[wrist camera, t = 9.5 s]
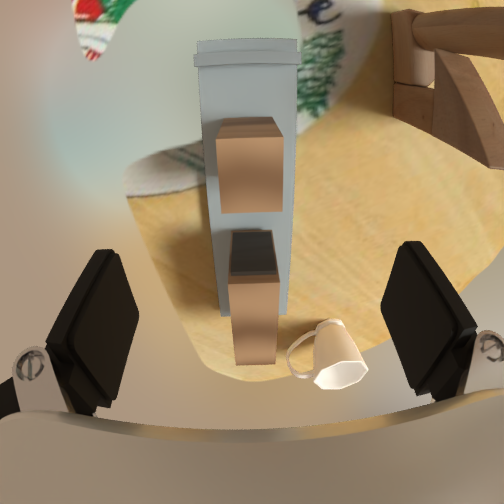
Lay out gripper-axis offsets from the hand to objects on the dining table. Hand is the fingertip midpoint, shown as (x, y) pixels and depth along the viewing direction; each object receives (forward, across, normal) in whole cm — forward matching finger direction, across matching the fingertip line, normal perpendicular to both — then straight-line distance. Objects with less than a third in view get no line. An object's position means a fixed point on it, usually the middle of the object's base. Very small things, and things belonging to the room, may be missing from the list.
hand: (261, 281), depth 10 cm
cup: (+19, -9, +26) cm, 34 cm away
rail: (+19, 0, +6) cm, 20 cm away
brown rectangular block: (+18, 0, +1) cm, 18 cm away
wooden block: (+20, -15, -8) cm, 26 cm away
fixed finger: (+18, 0, +14) cm, 23 cm away
